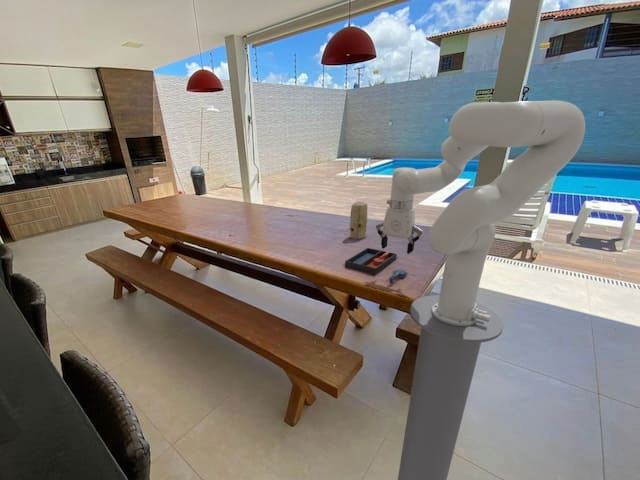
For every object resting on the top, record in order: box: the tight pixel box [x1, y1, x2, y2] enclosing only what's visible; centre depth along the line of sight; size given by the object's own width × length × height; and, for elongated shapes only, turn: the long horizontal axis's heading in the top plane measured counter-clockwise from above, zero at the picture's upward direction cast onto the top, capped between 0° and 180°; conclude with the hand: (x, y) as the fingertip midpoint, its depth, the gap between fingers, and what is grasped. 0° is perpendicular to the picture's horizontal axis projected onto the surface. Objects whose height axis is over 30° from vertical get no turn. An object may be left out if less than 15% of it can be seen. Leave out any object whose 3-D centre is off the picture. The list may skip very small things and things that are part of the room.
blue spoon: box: [389, 269, 407, 285], centre depth 119 cm, size 4×11×3 cm, turn 138°
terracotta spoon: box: [374, 251, 390, 265], centre depth 134 cm, size 4×11×3 cm, turn 138°
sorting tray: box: [344, 247, 397, 276], centre depth 134 cm, size 14×20×3 cm
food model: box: [349, 201, 368, 240], centre depth 161 cm, size 10×7×20 cm
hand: (396, 250), depth 115 cm, fingers open, 9 cm apart
